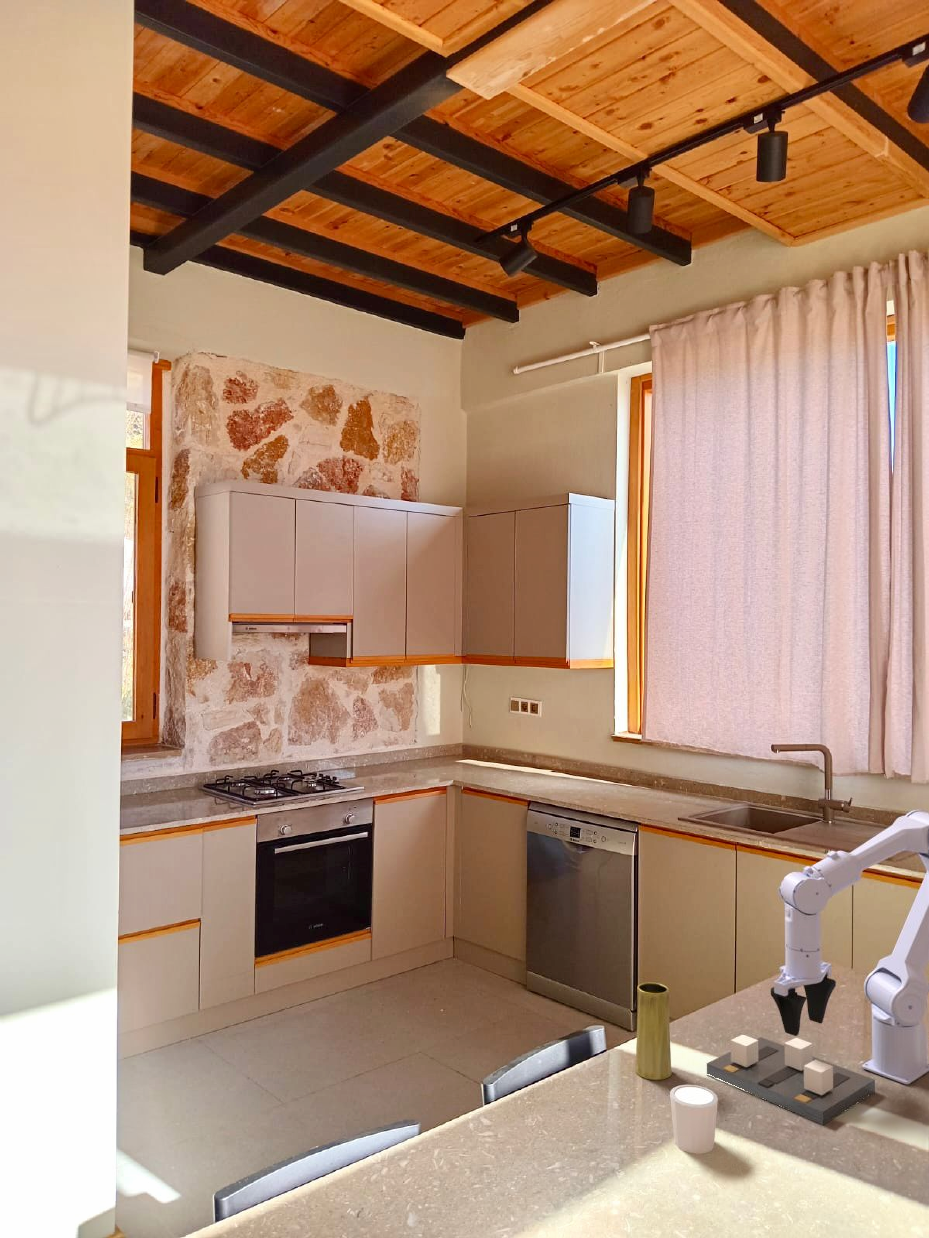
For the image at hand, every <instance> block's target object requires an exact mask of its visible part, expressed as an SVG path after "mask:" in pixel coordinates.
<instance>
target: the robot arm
mask: <svg viewBox="0 0 929 1238" xmlns="http://www.w3.org/2000/svg"><path fill="white" fill-rule="evenodd" d="M903 851H906V852H912V853H913V852H914V853H916V854H918V855H919V858H920V859H921V861H922V864H923V865H924V868H925V870H926V873H925V875H924V877H923V880H922V883H921V885H920V886H919V889H918V891H917V895H916V896H915V899H914V901H913V902H912V906H911V908H910V910H909V912H908V915H907V917H906V920H905V922H904V925H903V927H902V929H901V931H900V934H899V936H898V939H897V941H896V943H895V946H894V948H893V951H892V953H891V954H889V955H887V956H885V957H883V958H881V959H879V960H878V963H877V965H876V967H875V968H874V969H873V970H872V971H871V972H870V973H869V974H868V975H867V976H866V977H865V980H864V983H863V992H864V996H865V998H866V999H867V1000H868V1001H869V1002H870V1003H871V1004H870V1005H871V1006H870V1010H871V1040H872V1041H871V1053H872V1054H871V1059H870V1060H867V1062H865V1063H862V1065H861V1068H862V1069H863V1070H866V1071H869V1072H872V1073H874V1074H877V1075H880V1076H883V1077H884V1078H888V1079H889V1080H893V1081H896V1082H899V1083H901V1084H904V1085H910V1084H911V1083H913V1082H915V1081H916V1080H917V1079H919V1078H920V1077H922V1076H923V1075H925V1074H926V1073H929V1063H928V1031H927V1030H928V1029H927V1025H926V1024H925V1022H924V1020H923V1019H924V1017H925V1016H926V1013H927V1009H928V994H929V980H928V977H927V975H926V969H927V967H928V964H929V812H927V811H925V810H923V809H913V810H911V811H909V812H907V813H906V814H905V815H902V816H899V817H897V818H896V819H895V820H894V822H893V824H891V825H890V826H888V827H887V828H886V829H884V830H882V831H881V832H879V833H878V834H876V835H875V836H874V837H872V838H870V839H869V840H867V841H866V842H864V843H863V844H861V845H860V846H858V847H856V848H855V849H853V850H852V851H850V852H846V851H844V850H838V851H834V850H831V851H829V852H827V853H826V856H827V857H826V858H823V859H821V860H820V861H818V862H817V863H815V864H812V865H811V866H809V865H807V866H805V867H803V870H802V872H801V871H793V872H790V873H788V874H786V876H784V878H783V880H781V884H780V886H779V887H778V888H777V893H778V895H779V897H780V898H781V900H782V901H783V903H784V938H785V939H784V945H785V946H784V950H785V952H784V953H785V965H782V966H779V972H780V973H781V975H780V976H779V977H778V979H776V980H774V982H773V983H774V986H772V987H771V988H770V996H771V997H772V999H773V1000H774V1002H775V1004H776V1006H777V1009H778V1012H779V1015H780V1018H781V1022H782V1027H783V1028H784V1029H783V1030H784V1033H786V1034H789V1035H791V1036H794V1037H798V1036H799V1033H800V1028H801V1016H802V1011H803V1008H804V1004H805V1002H806V1006H807V1014H808V1019H809V1021H812V1022H813V1023H814V1022H815V1023H816V1024H823V1022H824V1018H825V1015H826V1010H827V1006H828V1002H829V1000H830V998H831V995H832V993H833V991H834V990H835V988H836V985H837V984H836V983H837V981H836V980H835V979H832V978H831V976H832V964H831V963H828V962H825V961H822V925H821V924H822V923H821V922H822V919H821V916H822V915H821V912H822V911H823V910H824V909H825V908H826V906H827V903H828V901H829V900H830V899H831V898H833V897H835V895H837V894H839V893H841V892H842V891H845V890H846V889H848V888H849V887H851V886H853V885H855V884H857V883H858V882H860V881H861V878H862V874H863V871H864V870H867V869H869V868H871V867H873V866H875V865H877V864H879V863H882V862H883V861H885V860H887V859H889V858H892V857H893V856H895V855H897V854H899V853H901V852H903ZM800 987H803V989H804V993H805V996H804V995H800V994H798V992H797V991H796V989H798V988H800Z"/></svg>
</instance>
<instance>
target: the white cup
mask: <svg viewBox="0 0 929 1238" xmlns="http://www.w3.org/2000/svg"><path fill="white" fill-rule="evenodd" d="M669 1097H670V1108H671V1118H672V1128H673V1129H672V1130H673V1140H674V1144H675V1146H677V1148H678V1149H680V1150H682V1151H684V1152H687V1153H691V1154H699V1155H700V1154H707V1153H709V1152H711V1151H712V1150H713V1149H714V1146H715V1139H716V1127H717V1126H716V1125H717V1115H718V1114H717V1113H718V1105H719V1104H718V1103H719V1102H718V1101H719V1099H718V1095H717V1094H716V1093H715V1092H714V1091H713V1090H711V1089H709V1088H707V1087H704V1086H700V1085H697V1084H681V1085H678V1086H675V1087H673V1088H671V1090H670V1091H669Z"/></svg>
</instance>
